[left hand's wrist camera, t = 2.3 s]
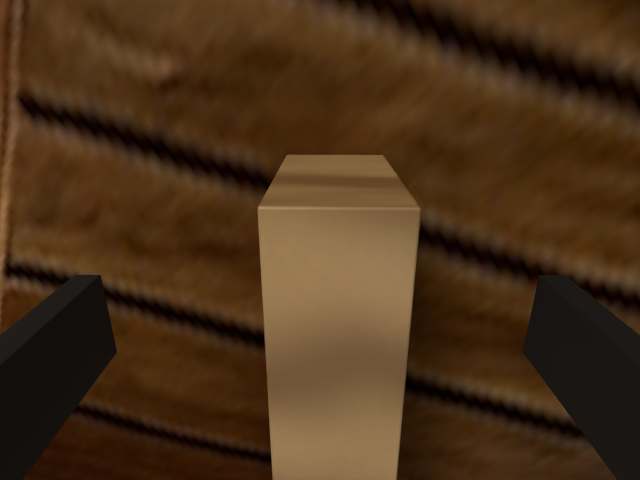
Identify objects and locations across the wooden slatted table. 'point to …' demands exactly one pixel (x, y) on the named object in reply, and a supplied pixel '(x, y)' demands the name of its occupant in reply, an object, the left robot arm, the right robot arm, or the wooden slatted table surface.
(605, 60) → the wooden slatted table surface
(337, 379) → the bar
